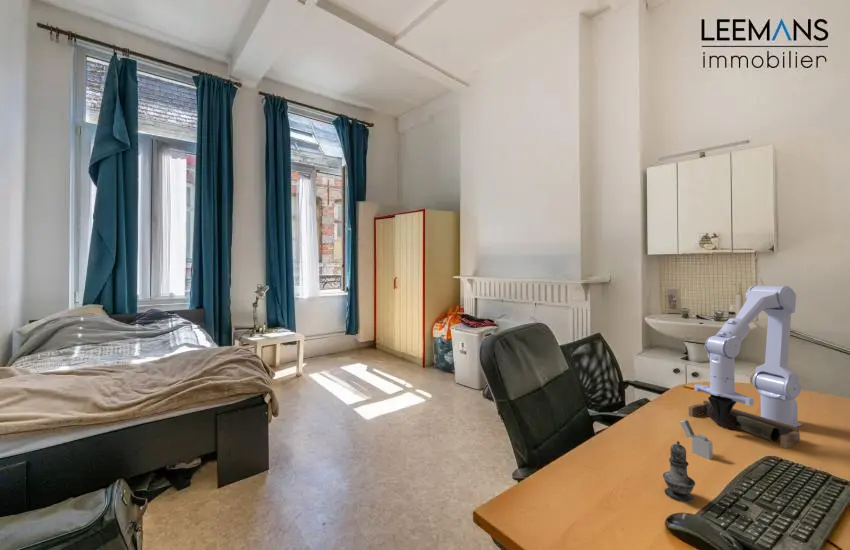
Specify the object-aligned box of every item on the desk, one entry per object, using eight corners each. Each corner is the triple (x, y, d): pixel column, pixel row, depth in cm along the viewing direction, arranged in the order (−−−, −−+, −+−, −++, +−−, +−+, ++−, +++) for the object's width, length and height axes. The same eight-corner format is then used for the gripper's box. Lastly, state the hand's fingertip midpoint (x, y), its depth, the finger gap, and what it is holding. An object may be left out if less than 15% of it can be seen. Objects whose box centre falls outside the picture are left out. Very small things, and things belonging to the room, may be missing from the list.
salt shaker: (656, 488, 81) (655, 435, 81) (680, 486, 82) (679, 434, 82) (676, 504, 76) (676, 448, 75) (702, 502, 76) (701, 446, 76)
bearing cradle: (703, 411, 124) (703, 399, 124) (801, 442, 101) (801, 428, 101) (688, 415, 121) (688, 403, 121) (786, 448, 98) (786, 433, 98)
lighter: (713, 457, 94) (712, 427, 94) (709, 459, 93) (709, 428, 93) (683, 446, 100) (682, 418, 100) (679, 447, 99) (679, 419, 99)
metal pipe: (781, 441, 103) (781, 421, 103) (766, 445, 101) (766, 425, 101) (713, 417, 120) (713, 400, 120) (700, 421, 117) (699, 404, 117)
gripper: (688, 372, 113) (688, 414, 113) (743, 385, 100) (743, 433, 100) (702, 369, 116) (702, 411, 116) (757, 381, 102) (758, 429, 102)
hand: (722, 421), depth 108 cm, fingers closed
